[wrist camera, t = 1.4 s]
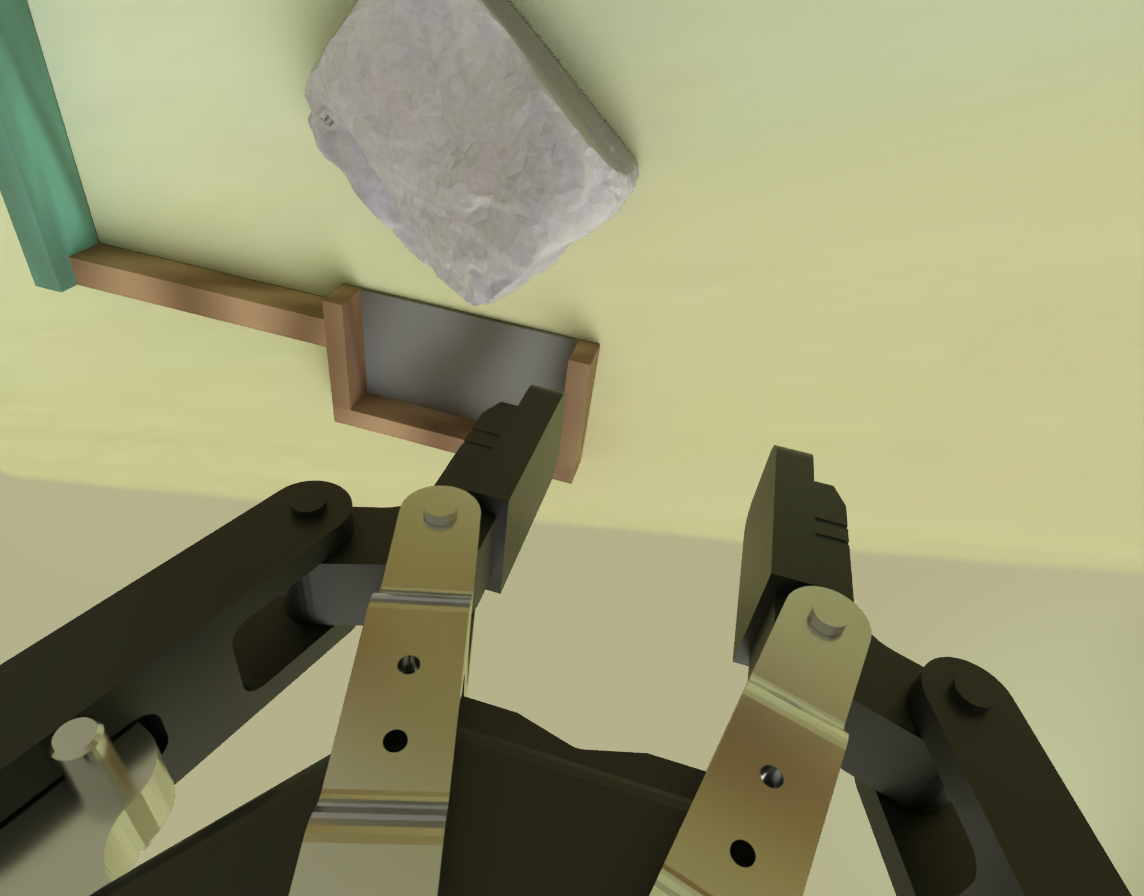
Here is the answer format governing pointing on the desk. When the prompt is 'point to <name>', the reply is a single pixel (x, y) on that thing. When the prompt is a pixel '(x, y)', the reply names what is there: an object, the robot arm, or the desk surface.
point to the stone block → (466, 139)
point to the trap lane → (281, 294)
